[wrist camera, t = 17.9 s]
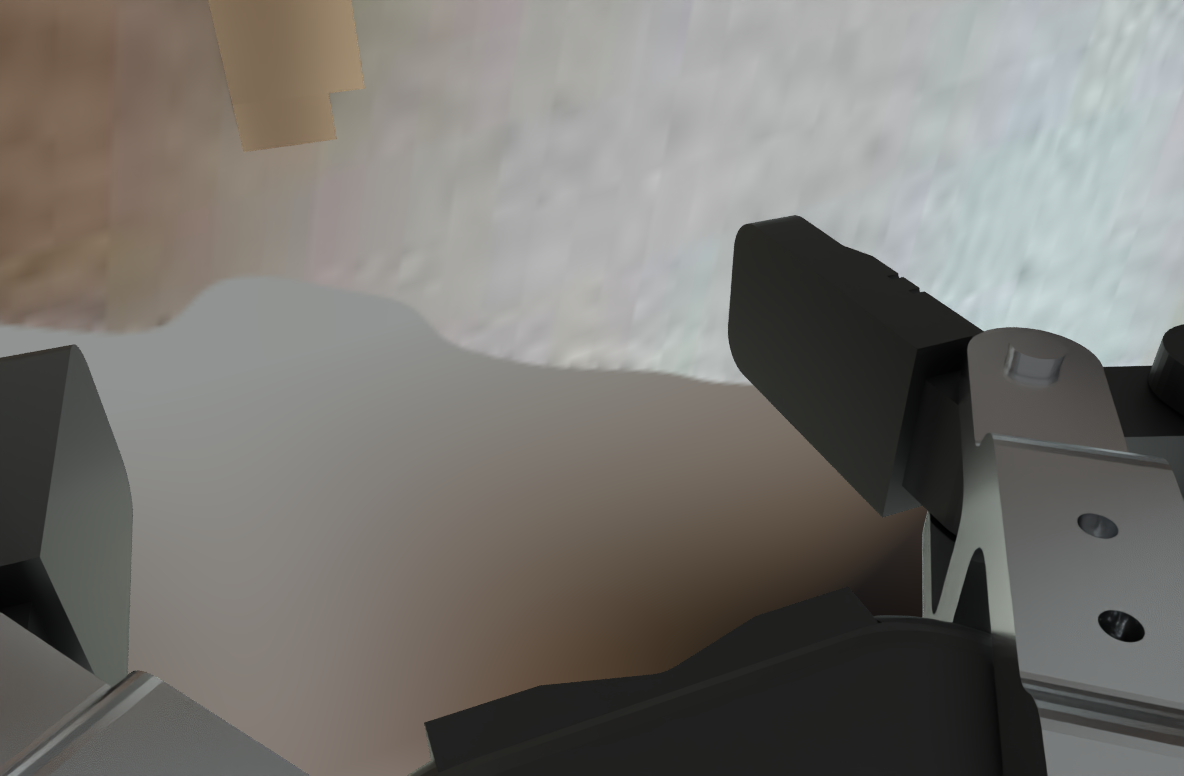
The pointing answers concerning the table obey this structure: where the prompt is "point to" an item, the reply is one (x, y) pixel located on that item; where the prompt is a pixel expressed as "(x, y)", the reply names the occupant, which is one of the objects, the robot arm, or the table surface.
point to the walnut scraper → (286, 66)
